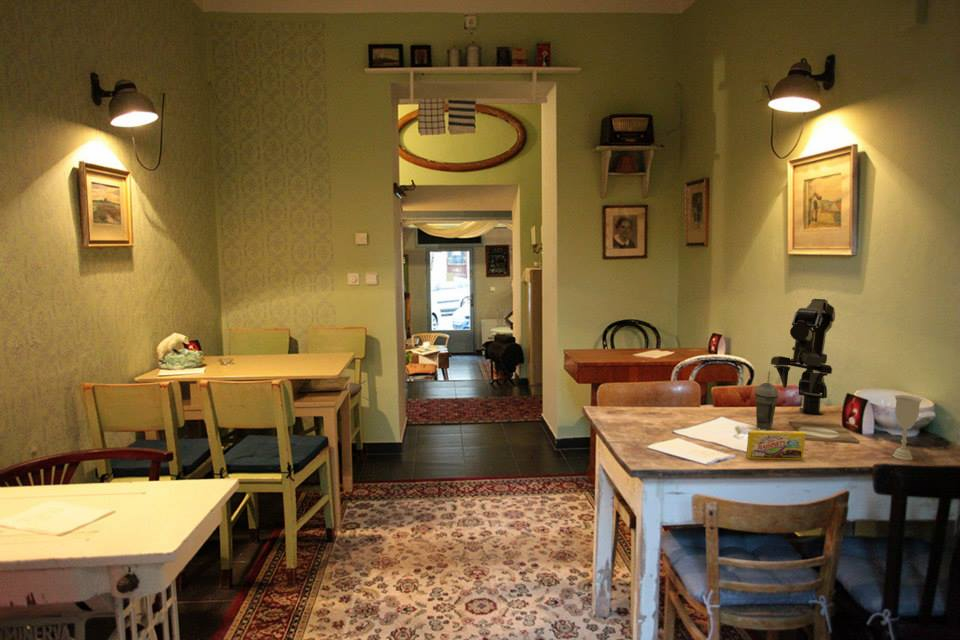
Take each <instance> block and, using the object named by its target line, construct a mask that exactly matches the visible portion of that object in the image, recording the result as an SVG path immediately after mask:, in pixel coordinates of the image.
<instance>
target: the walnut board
mask: <svg viewBox="0 0 960 640" xmlns="http://www.w3.org/2000/svg"><path fill="white" fill-rule="evenodd" d="M788 424H789V425H790V426H791V427H792V428H793V429H794V431H803V432H804V433H806V434H805V441H813V442H814V441H816V442H829V443H831V442H832V443H845V444H847V443H848V444H860V440H859V439H858V438H857V437H855V436H854V434H852V433H851V432H849V431H848V430H847V429H846V428H844V427H843V426H842V425H841V424H840V423H838V422H837V423H832V422H823V421H822V422H819V421H818V422H817V421H803V420H802V421H801V420H788Z"/></svg>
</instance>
